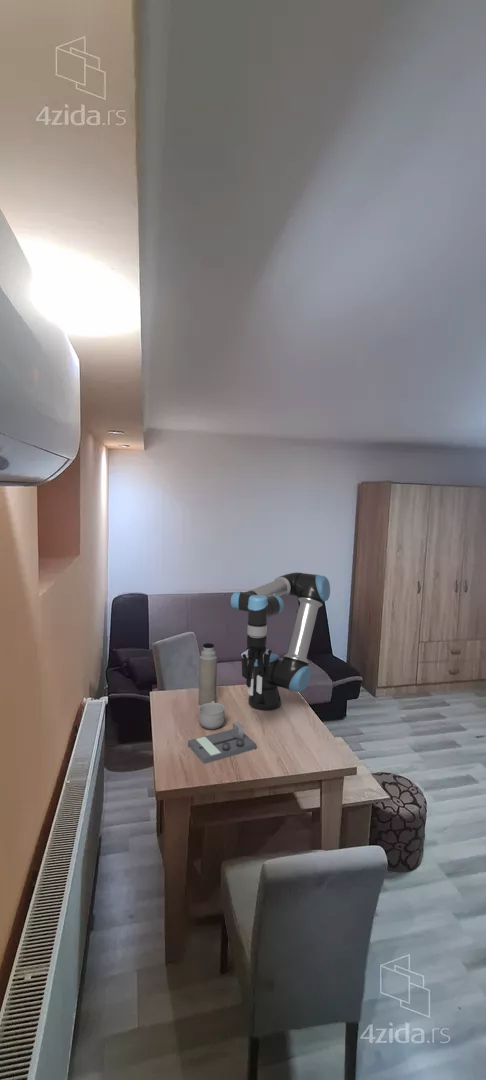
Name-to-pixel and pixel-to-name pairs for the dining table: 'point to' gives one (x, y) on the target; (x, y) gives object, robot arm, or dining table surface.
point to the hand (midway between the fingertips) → (254, 693)
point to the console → (220, 746)
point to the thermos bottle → (207, 674)
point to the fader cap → (238, 730)
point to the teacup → (211, 715)
